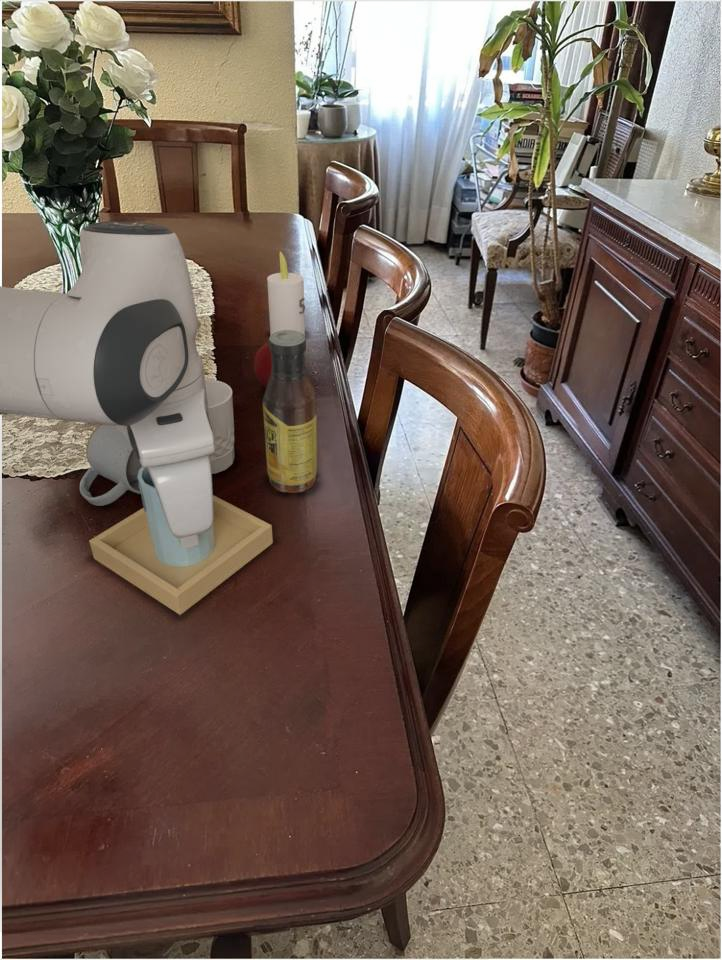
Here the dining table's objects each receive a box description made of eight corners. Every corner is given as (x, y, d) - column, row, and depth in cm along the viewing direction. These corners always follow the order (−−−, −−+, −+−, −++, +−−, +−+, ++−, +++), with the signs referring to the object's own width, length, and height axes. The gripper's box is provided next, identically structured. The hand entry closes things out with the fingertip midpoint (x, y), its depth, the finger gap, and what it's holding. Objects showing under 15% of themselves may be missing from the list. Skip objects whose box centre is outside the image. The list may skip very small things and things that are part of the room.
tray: (180, 615, 65) (176, 596, 63) (93, 558, 71) (88, 540, 70) (273, 543, 74) (271, 525, 73) (189, 498, 80) (186, 481, 79)
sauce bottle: (267, 469, 86) (257, 323, 74) (316, 467, 87) (313, 322, 75) (268, 499, 81) (257, 348, 69) (319, 496, 81) (317, 346, 70)
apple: (255, 402, 100) (251, 354, 96) (255, 378, 107) (252, 331, 102) (305, 400, 101) (304, 352, 97) (302, 376, 108) (301, 330, 103)
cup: (182, 575, 69) (168, 499, 63) (140, 550, 72) (123, 474, 66) (228, 542, 73) (219, 468, 67) (187, 519, 76) (174, 446, 70)
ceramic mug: (133, 455, 88) (121, 404, 83) (178, 474, 84) (169, 423, 80) (66, 496, 80) (50, 443, 76) (113, 519, 77) (98, 465, 72)
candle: (294, 344, 118) (291, 260, 109) (263, 337, 120) (258, 254, 112) (312, 332, 123) (310, 250, 114) (281, 325, 125) (278, 244, 116)
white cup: (233, 478, 84) (226, 409, 78) (171, 477, 84) (159, 408, 78) (243, 445, 90) (237, 379, 85) (185, 444, 90) (175, 378, 85)
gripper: (109, 361, 68) (132, 471, 76) (142, 463, 53) (167, 586, 61) (170, 351, 71) (187, 459, 79) (219, 447, 56) (233, 568, 64)
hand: (179, 516), depth 70 cm, fingers open, 8 cm apart
